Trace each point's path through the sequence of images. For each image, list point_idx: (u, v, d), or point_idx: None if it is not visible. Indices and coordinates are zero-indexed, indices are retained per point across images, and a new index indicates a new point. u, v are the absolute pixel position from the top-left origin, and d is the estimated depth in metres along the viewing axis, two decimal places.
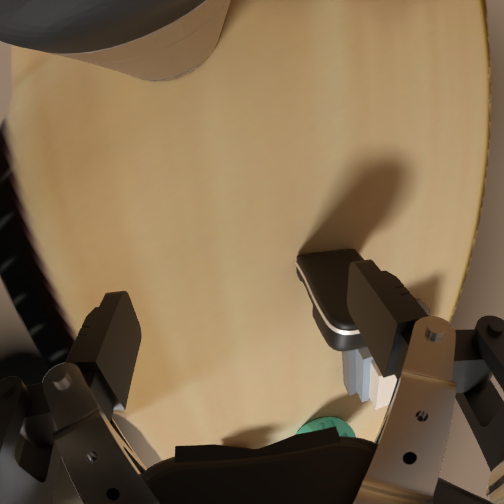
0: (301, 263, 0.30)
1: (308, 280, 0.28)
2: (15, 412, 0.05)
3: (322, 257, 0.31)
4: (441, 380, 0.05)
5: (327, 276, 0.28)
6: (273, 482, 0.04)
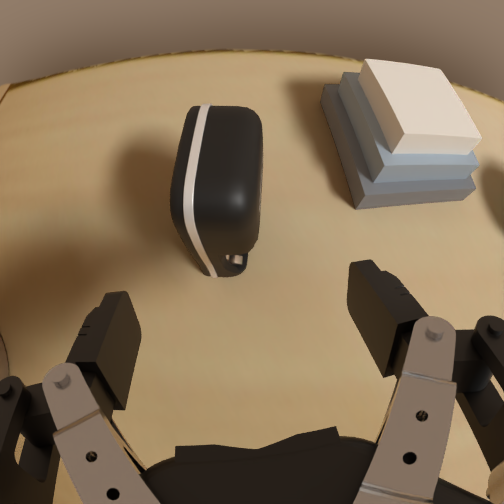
0: (202, 270, 0.21)
1: (197, 260, 0.19)
2: (15, 411, 0.05)
3: None
4: (441, 380, 0.05)
5: None
6: (273, 482, 0.04)
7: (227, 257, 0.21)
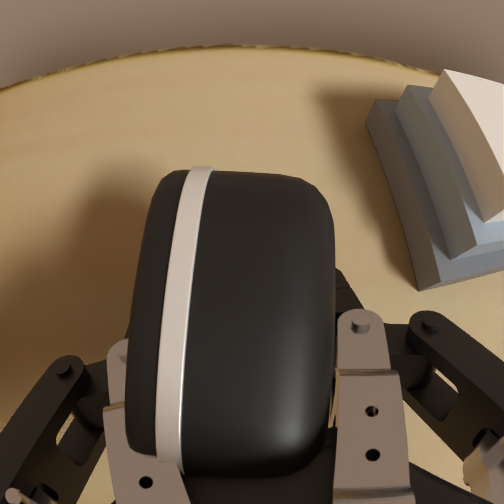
0: None
1: None
2: (68, 395, 0.06)
3: None
4: (381, 371, 0.06)
5: None
6: (273, 482, 0.04)
7: None
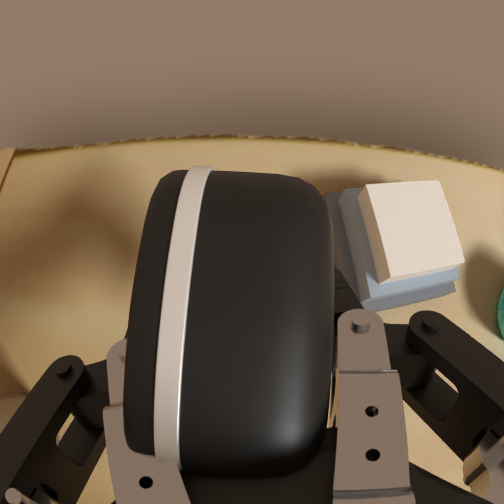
0: None
1: None
2: (68, 395, 0.06)
3: None
4: (381, 371, 0.06)
5: None
6: (273, 482, 0.04)
7: None
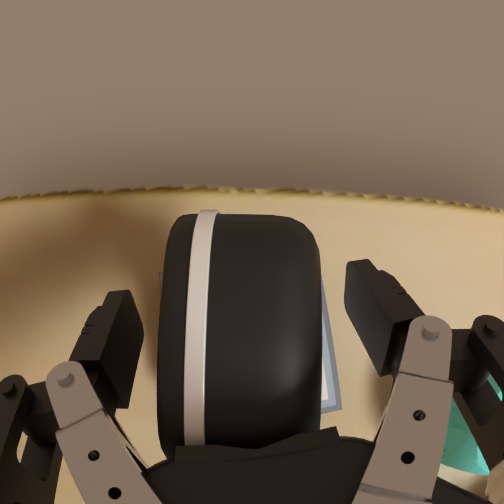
0: None
1: None
2: (18, 410, 0.05)
3: None
4: (438, 379, 0.05)
5: None
6: (273, 482, 0.04)
7: None
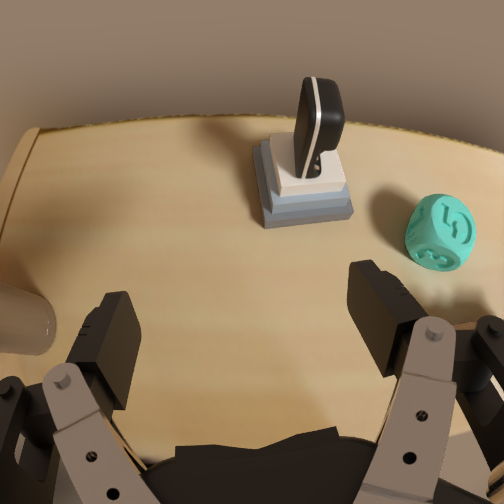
0: (298, 171, 0.35)
1: (303, 158, 0.32)
2: (15, 412, 0.05)
3: (295, 157, 0.36)
4: (441, 380, 0.05)
5: (299, 145, 0.32)
6: (273, 482, 0.04)
7: None
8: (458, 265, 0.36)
